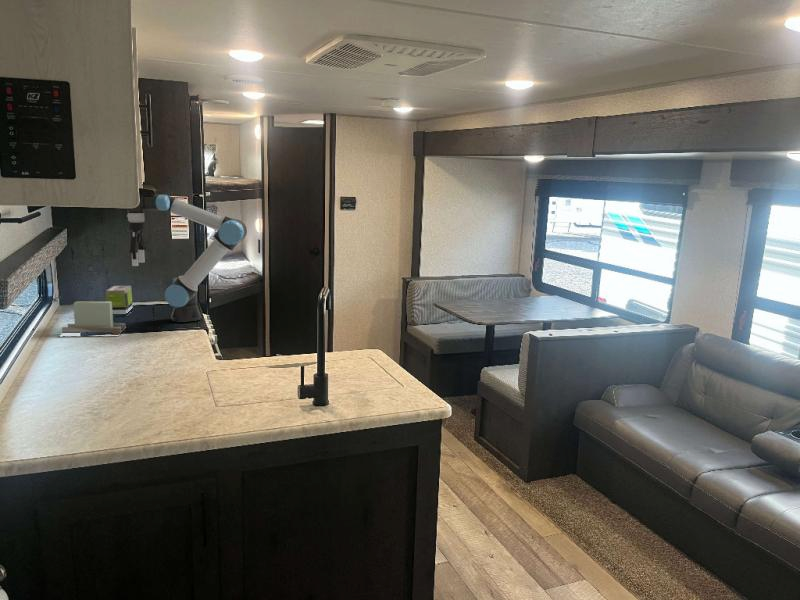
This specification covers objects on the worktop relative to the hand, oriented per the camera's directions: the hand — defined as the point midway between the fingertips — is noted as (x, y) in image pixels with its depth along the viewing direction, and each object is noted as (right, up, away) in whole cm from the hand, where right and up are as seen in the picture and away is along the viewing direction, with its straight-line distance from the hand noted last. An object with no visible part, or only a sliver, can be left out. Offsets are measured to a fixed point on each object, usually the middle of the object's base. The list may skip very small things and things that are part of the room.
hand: (138, 264), depth 307 cm
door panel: (-16, -33, -12) cm, 38 cm away
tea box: (-24, -26, +32) cm, 47 cm away
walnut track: (-16, -34, -12) cm, 39 cm away
